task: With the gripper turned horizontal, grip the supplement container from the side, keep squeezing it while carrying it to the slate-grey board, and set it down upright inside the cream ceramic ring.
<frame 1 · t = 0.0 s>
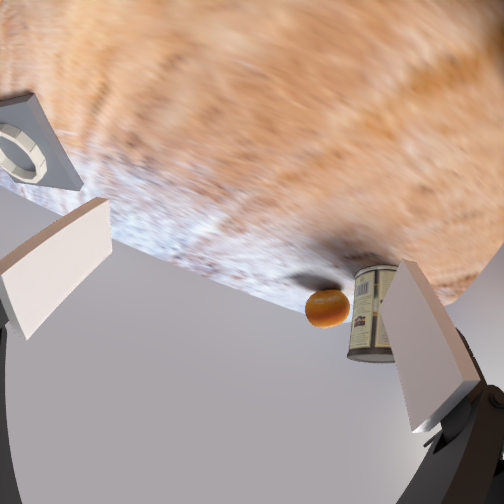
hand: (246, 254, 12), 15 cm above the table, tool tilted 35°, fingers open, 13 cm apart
ring board: (23, 143, 30), on the table
fruit: (329, 287, 55), on the table
coffee can: (383, 276, 46), on the table
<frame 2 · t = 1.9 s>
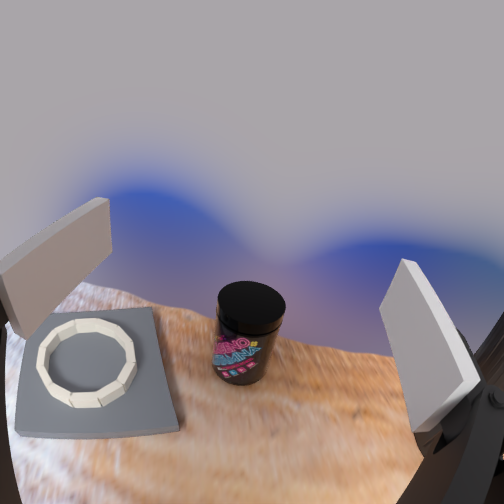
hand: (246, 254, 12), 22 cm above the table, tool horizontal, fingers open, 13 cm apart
ring board: (89, 371, 27), on the table
supplement container: (238, 367, 33), on the table
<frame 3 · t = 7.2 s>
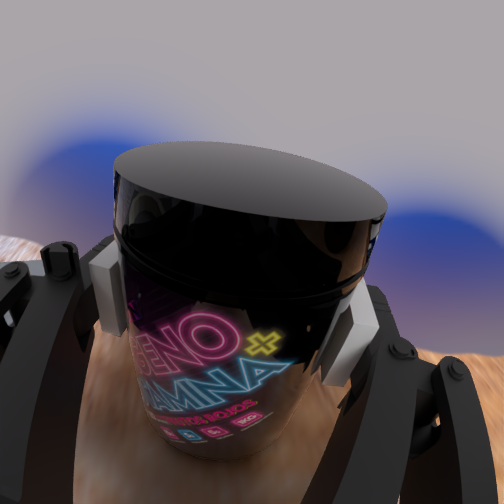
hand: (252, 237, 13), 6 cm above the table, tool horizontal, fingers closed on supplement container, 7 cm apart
supplement container: (216, 403, 12), on the table, touching gripper
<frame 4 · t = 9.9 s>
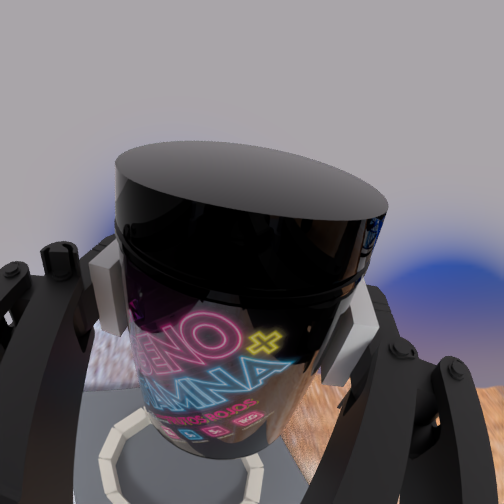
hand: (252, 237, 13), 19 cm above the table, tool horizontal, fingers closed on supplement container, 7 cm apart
ring board: (181, 477, 17), on the table
supplement container: (216, 403, 12), point 13 cm above the table, touching gripper
when the fingers open (9 cm above the table, at t = 12.6 s): supplement container drops 1 cm, resting on ring board.
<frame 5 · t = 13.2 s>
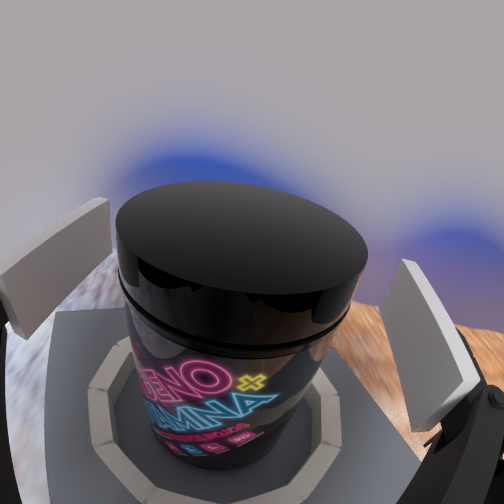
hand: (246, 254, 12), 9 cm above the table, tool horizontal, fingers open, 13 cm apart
ring board: (212, 427, 13), on the table
supplement container: (215, 417, 13), point 1 cm above the table, touching ring board
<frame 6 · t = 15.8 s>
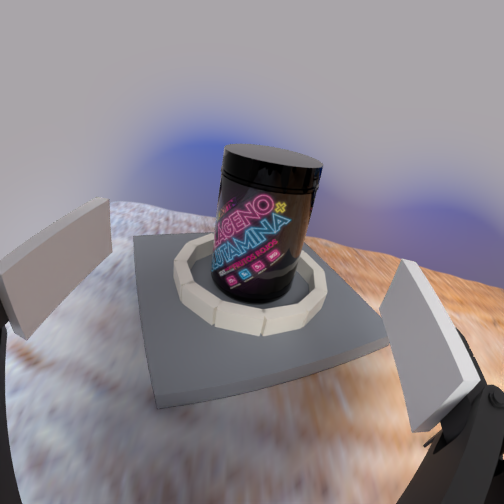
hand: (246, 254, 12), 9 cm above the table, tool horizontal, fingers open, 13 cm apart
ring board: (247, 295, 24), on the table
supplement container: (250, 283, 24), point 1 cm above the table, touching ring board
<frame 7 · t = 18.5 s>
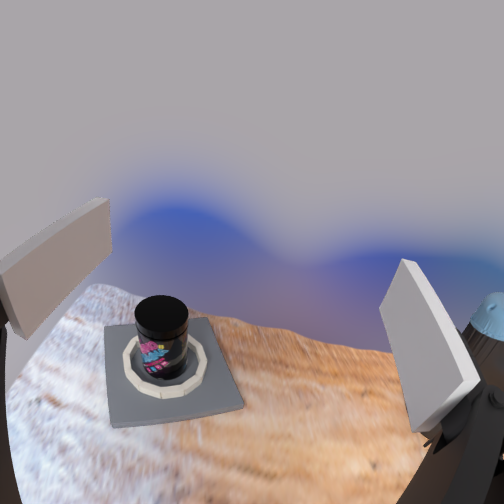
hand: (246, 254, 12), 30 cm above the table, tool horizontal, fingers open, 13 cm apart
ring board: (165, 370, 39), on the table
supplement container: (165, 365, 38), point 1 cm above the table, touching ring board
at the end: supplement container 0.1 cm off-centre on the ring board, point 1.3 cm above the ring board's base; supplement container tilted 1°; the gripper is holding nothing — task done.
